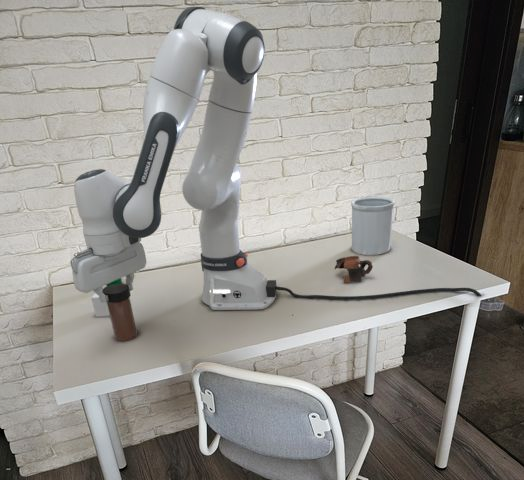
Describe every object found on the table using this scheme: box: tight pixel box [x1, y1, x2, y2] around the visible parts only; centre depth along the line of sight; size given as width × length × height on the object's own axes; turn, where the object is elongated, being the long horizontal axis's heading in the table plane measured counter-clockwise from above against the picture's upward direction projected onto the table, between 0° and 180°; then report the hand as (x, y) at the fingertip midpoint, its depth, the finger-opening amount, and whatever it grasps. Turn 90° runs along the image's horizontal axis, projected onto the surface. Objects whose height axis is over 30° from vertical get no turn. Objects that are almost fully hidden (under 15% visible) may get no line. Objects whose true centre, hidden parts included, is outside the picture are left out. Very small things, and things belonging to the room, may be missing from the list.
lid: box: [102, 283, 131, 302], centre depth 120 cm, size 7×7×2 cm
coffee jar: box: [107, 296, 138, 342], centre depth 123 cm, size 6×6×13 cm
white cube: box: [91, 292, 110, 318], centre depth 139 cm, size 6×6×6 cm
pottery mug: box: [334, 255, 374, 284], centre depth 152 cm, size 12×10×8 cm
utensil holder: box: [350, 195, 396, 256], centre depth 172 cm, size 15×15×18 cm
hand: (117, 296), depth 121 cm, fingers closed on lid, 6 cm apart
